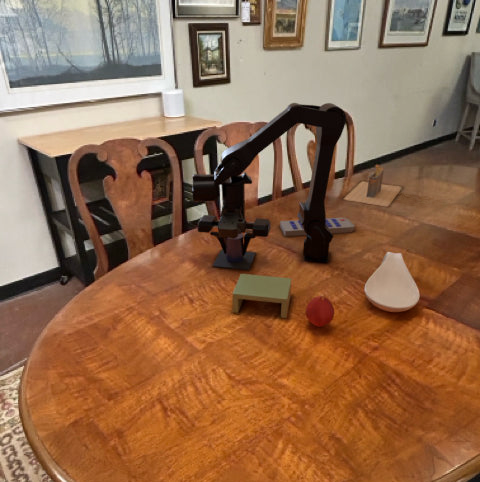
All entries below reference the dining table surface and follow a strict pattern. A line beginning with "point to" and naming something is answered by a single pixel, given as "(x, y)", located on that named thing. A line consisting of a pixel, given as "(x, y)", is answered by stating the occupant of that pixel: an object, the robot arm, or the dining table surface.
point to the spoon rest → (392, 285)
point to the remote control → (333, 224)
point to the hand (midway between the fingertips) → (234, 254)
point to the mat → (243, 265)
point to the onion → (320, 311)
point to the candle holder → (235, 249)
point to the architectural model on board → (374, 190)
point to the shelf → (262, 291)
